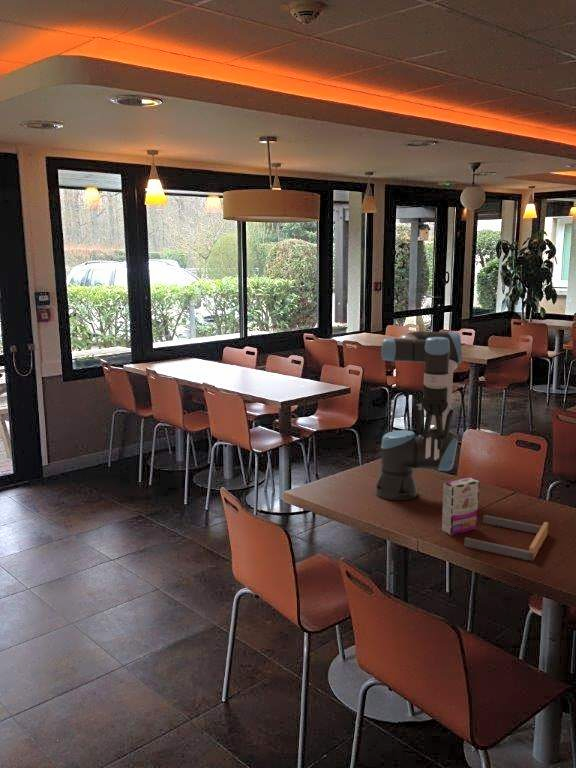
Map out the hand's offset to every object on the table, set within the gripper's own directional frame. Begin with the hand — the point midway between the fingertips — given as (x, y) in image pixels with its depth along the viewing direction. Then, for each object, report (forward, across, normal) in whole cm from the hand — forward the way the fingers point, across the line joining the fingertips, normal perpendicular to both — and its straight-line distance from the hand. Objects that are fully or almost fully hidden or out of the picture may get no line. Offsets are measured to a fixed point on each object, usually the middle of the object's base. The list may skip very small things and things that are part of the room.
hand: (432, 457), depth 219 cm
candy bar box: (+23, +10, 0) cm, 25 cm away
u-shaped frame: (+22, +25, 0) cm, 34 cm away
